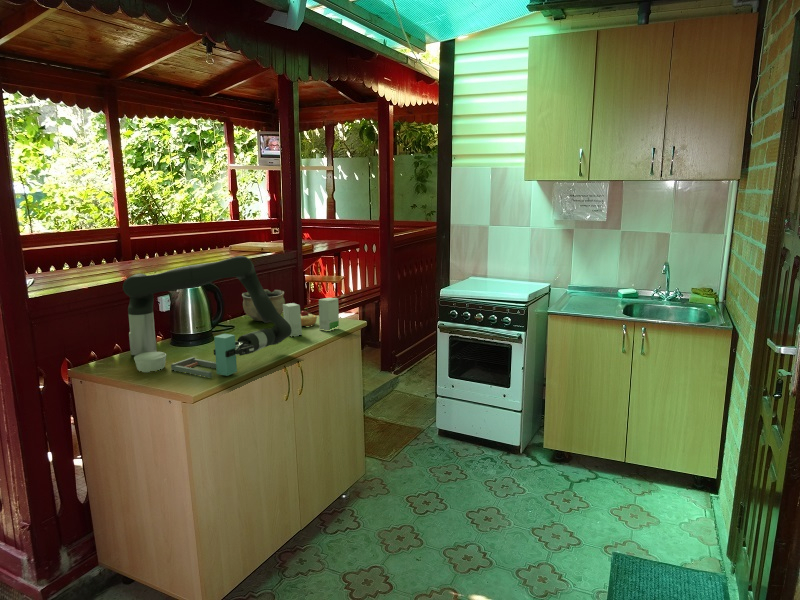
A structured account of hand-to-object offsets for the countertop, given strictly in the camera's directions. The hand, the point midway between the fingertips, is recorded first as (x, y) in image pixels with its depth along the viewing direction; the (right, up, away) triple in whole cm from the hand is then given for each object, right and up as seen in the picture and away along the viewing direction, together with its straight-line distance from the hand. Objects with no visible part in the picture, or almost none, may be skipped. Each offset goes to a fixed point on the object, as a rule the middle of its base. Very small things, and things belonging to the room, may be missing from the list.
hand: (220, 353), depth 189 cm
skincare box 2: (+29, +4, +72) cm, 78 cm away
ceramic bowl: (-7, +8, +91) cm, 92 cm away
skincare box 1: (+14, +3, +62) cm, 63 cm away
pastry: (+16, +6, +80) cm, 82 cm away
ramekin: (-30, -7, +11) cm, 33 cm away
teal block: (+1, -7, +4) cm, 8 cm away
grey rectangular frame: (-10, -7, +9) cm, 16 cm away
